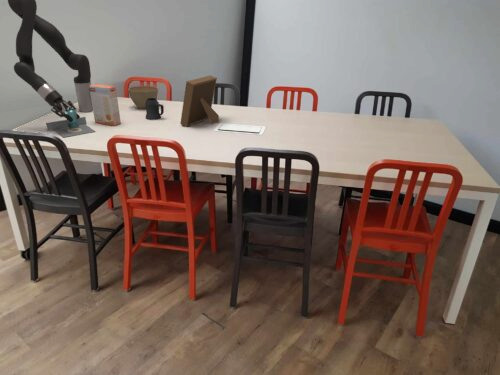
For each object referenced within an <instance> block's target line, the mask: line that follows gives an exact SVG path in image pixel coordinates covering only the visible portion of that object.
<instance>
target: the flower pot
mask: <svg viewBox="0 0 500 375" xmlns="http://www.w3.org/2000/svg"><path fill="white" fill-rule="evenodd" d="M127 90H128V94H129V98H130V99H131V101H132V102H133V104H134V105H135V106H136V107H137V108H138V109H140V110H146V105H145V102H146V100H147V98H156V99H157V98H158V93H159V88H158V87H157V86H151V85H137V86H132V87H129V88H128V89H127Z"/></svg>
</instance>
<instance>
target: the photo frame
mask: <svg viewBox="0 0 500 375" xmlns="http://www.w3.org/2000/svg"><path fill="white" fill-rule="evenodd" d="M217 79H218V77H215V76H212V75H211V74H210V75H207V76H203V77H199V78H194V79H191V80H186V81H185V82H186V83H185V88H184V89H185V90H184V96H183V103H182V109H181V110H182V111H181V117H180V123H179V124H180V125H182V126H183V127H186V128H187V127H190V126H193V125H195V124H198V123H200V122H202V121H205V120H208V119H209V121H210V124H213V125H214V124H219V123H220V119H219V118H220V117H219V114H218V113H217V112H216V111H215V109H213V108H212V105H213V101H214V95H215V90H216V84H217Z"/></svg>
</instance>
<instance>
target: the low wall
mask: <svg viewBox="0 0 500 375" xmlns="http://www.w3.org/2000/svg"><path fill="white" fill-rule="evenodd" d="M83 124H86V125H87V124H88V123H87V120H86V116H82V117H81V116H80V118H79V119H78V125H83ZM45 125H46V126H45V127H46V130H47V131H55V130H54V129H59V128H65V127H68V122H67V119H63V120H55V121H49V122H45Z"/></svg>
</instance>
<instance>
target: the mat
mask: <svg viewBox="0 0 500 375" xmlns="http://www.w3.org/2000/svg"><path fill="white" fill-rule="evenodd" d="M53 131H55V132H56V133H57V134H58V135H59V136H60V137H62V138H63V139H65V138H70V137H71V138H72V137H75V136H80V135H81V136H82V135H86V134H90V133H91V134H92V133H96V130H94V129H93V128H92V127H90V126H88V125H87V124H83V125H79V127H78V128H73V129H71V128H69V127H65V128H59V129H54V130H53Z"/></svg>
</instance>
